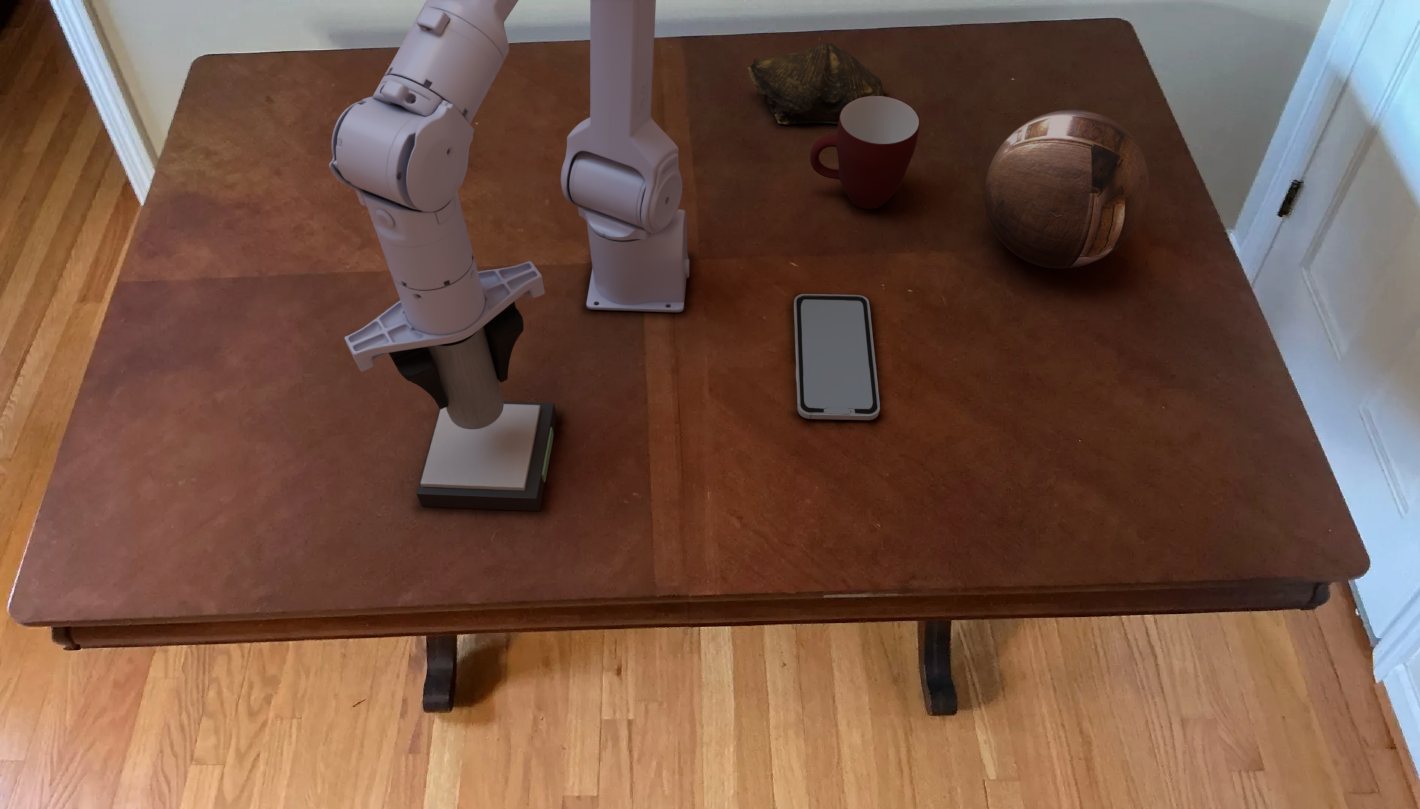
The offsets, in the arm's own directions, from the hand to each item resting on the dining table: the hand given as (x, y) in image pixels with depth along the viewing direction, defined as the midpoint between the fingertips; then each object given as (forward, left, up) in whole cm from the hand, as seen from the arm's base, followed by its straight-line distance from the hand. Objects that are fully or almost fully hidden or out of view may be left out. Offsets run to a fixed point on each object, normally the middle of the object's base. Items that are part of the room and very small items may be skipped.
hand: (470, 385), depth 79 cm
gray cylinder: (0, 0, -3) cm, 3 cm away
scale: (0, 0, -10) cm, 10 cm away
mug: (-33, -36, -10) cm, 50 cm away
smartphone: (-30, -13, -10) cm, 34 cm away
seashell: (-29, -52, -10) cm, 60 cm away
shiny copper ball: (-52, -29, -10) cm, 60 cm away
